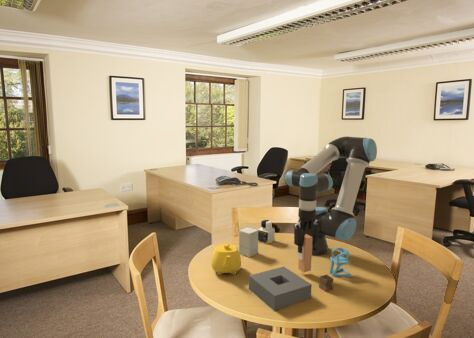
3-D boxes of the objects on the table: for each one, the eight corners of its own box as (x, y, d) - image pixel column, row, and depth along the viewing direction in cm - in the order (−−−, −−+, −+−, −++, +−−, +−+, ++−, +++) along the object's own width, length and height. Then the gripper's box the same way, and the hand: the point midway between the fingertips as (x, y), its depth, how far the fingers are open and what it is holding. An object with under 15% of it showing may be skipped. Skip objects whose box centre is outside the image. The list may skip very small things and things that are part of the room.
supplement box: (258, 253, 180) (259, 230, 178) (249, 257, 174) (249, 233, 172) (247, 249, 185) (248, 226, 183) (238, 253, 179) (238, 230, 177)
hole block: (283, 279, 153) (283, 266, 152) (310, 298, 137) (311, 284, 136) (248, 288, 144) (249, 275, 143) (274, 310, 128) (274, 295, 127)
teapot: (238, 262, 169) (239, 237, 167) (243, 282, 149) (244, 254, 147) (210, 262, 168) (211, 238, 166) (212, 283, 148) (212, 255, 146)
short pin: (325, 285, 148) (326, 274, 147) (332, 289, 144) (333, 278, 144) (318, 287, 146) (319, 276, 145) (325, 291, 142) (326, 280, 142)
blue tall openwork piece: (326, 270, 161) (328, 246, 159) (342, 269, 163) (344, 245, 161) (334, 278, 154) (336, 253, 152) (351, 276, 156) (353, 251, 154)
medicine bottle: (257, 241, 196) (257, 220, 194) (264, 237, 202) (265, 218, 200) (267, 244, 192) (268, 223, 190) (274, 240, 197) (275, 220, 195)
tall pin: (305, 266, 160) (306, 234, 157) (310, 270, 156) (312, 237, 153) (298, 268, 158) (299, 235, 155) (304, 272, 154) (305, 238, 151)
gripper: (316, 203, 159) (313, 251, 163) (286, 208, 151) (284, 258, 155) (327, 207, 153) (324, 257, 157) (297, 213, 144) (295, 265, 149)
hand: (305, 257), depth 156 cm, fingers closed on tall pin, 4 cm apart
